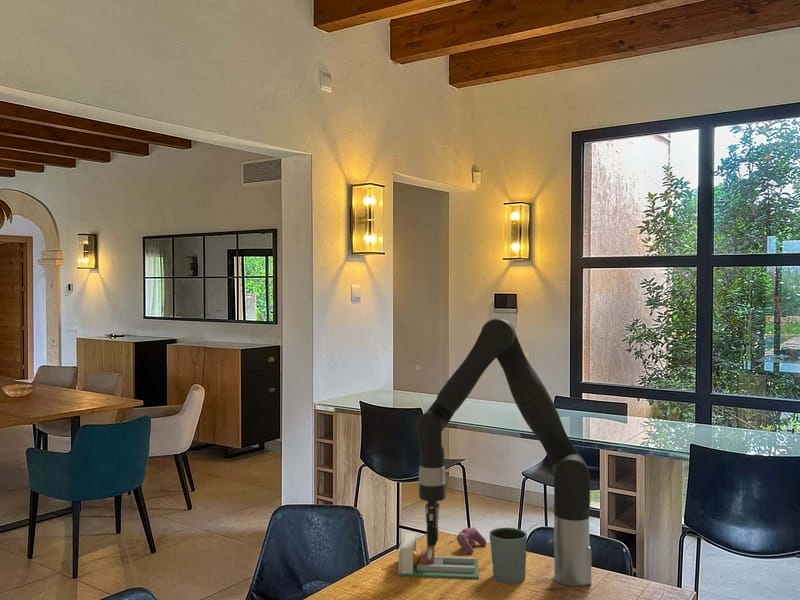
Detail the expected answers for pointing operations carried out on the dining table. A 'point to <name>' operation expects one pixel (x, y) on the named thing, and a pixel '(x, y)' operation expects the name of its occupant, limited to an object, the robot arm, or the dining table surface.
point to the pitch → (448, 568)
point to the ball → (415, 558)
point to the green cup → (508, 554)
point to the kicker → (430, 553)
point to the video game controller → (470, 539)
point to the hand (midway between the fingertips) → (432, 542)
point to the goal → (407, 553)
